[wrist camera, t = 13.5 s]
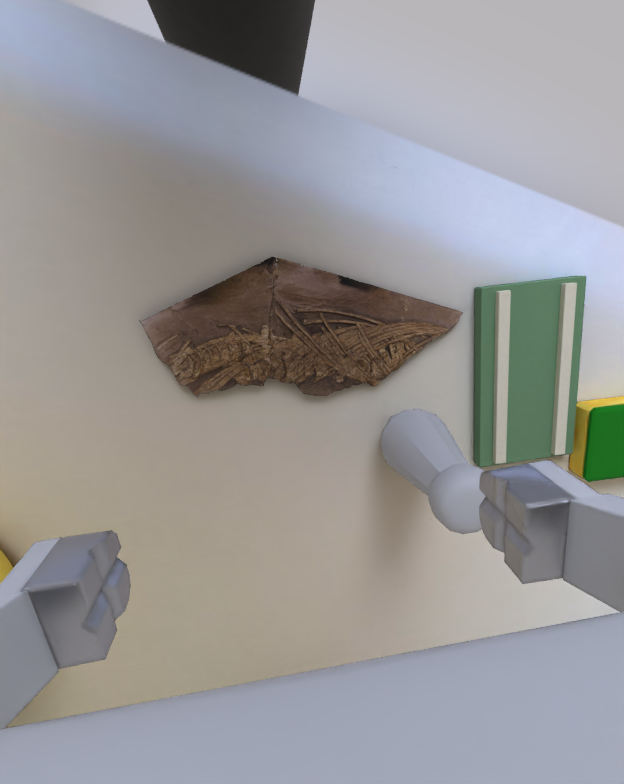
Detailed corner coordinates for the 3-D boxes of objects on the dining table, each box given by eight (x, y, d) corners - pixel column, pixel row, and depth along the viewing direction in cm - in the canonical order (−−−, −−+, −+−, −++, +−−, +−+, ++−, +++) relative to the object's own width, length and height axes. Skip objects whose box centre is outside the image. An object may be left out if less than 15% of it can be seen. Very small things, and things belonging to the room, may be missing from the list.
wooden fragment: (147, 394, 34) (143, 398, 33) (135, 253, 31) (131, 252, 30) (449, 393, 37) (454, 396, 36) (464, 263, 34) (470, 262, 33)
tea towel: (474, 287, 35) (484, 288, 33) (576, 275, 35) (591, 275, 34) (473, 462, 39) (482, 470, 38) (564, 448, 40) (577, 456, 38)
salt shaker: (449, 431, 38) (538, 507, 26) (403, 473, 39) (467, 567, 26) (408, 388, 37) (482, 447, 24) (361, 432, 37) (408, 513, 25)
